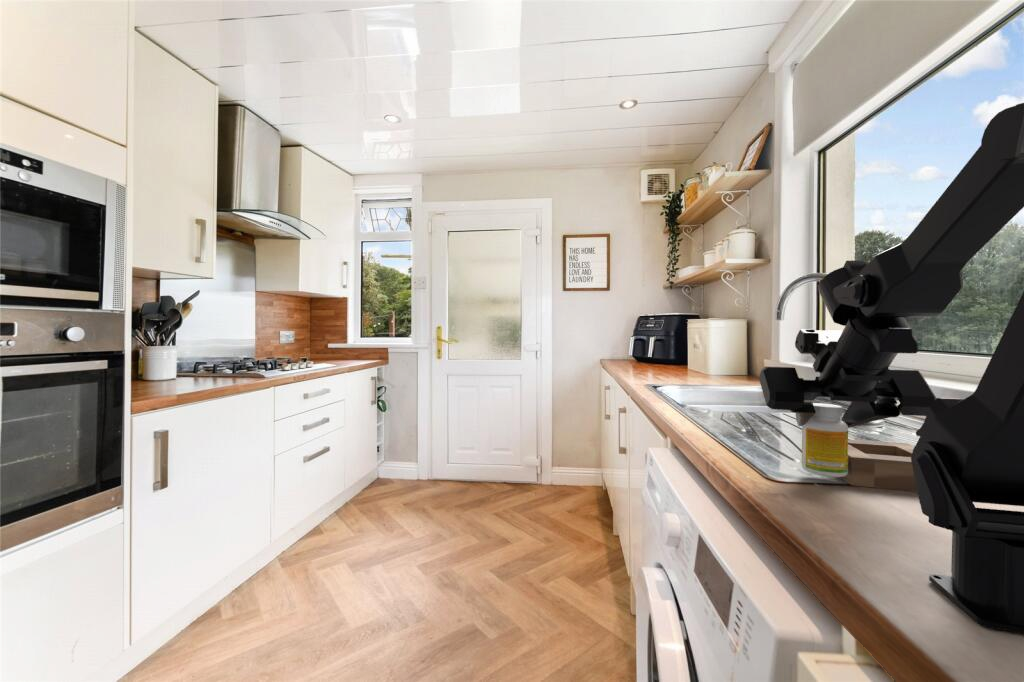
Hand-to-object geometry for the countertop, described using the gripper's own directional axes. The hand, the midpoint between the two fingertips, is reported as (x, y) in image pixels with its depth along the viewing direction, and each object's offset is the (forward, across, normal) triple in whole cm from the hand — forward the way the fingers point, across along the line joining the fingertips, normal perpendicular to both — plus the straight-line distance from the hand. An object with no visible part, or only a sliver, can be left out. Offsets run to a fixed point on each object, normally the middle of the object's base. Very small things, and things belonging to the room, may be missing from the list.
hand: (820, 424), depth 63 cm
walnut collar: (+8, -9, +3) cm, 13 cm away
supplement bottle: (+4, 0, +6) cm, 7 cm away
